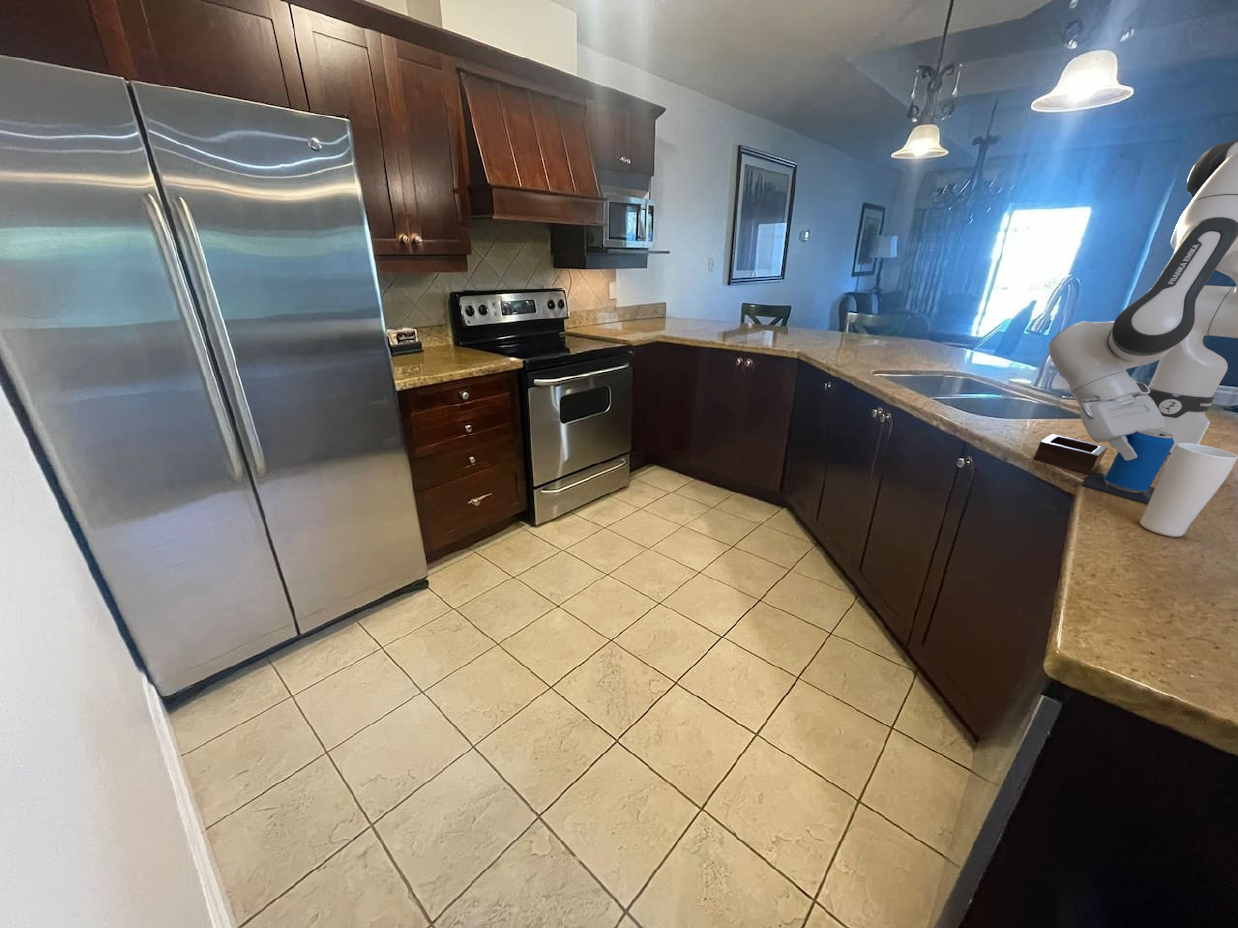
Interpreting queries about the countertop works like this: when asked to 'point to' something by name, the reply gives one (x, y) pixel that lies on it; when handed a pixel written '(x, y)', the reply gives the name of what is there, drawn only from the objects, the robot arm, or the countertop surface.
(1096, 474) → the coaster
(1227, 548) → the countertop surface
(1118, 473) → the beverage can
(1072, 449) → the box
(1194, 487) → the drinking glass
